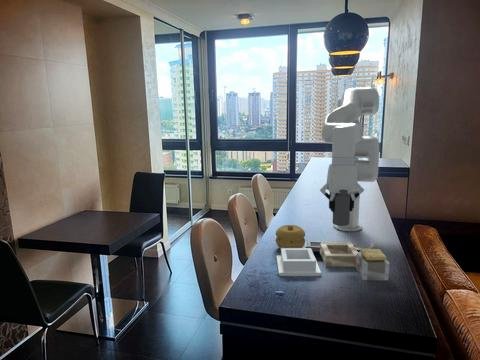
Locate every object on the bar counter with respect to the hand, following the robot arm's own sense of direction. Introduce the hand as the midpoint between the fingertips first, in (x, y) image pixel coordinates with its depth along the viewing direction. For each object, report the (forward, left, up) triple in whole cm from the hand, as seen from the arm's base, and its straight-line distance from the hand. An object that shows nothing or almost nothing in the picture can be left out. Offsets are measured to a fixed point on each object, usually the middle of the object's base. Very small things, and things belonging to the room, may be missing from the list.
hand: (341, 209), depth 127 cm
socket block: (+6, +3, -19) cm, 20 cm away
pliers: (-9, +11, -19) cm, 24 cm away
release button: (+13, +8, -17) cm, 23 cm away
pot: (-9, -17, -19) cm, 27 cm away
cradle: (+7, -16, -19) cm, 26 cm away
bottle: (0, 0, -5) cm, 5 cm away
